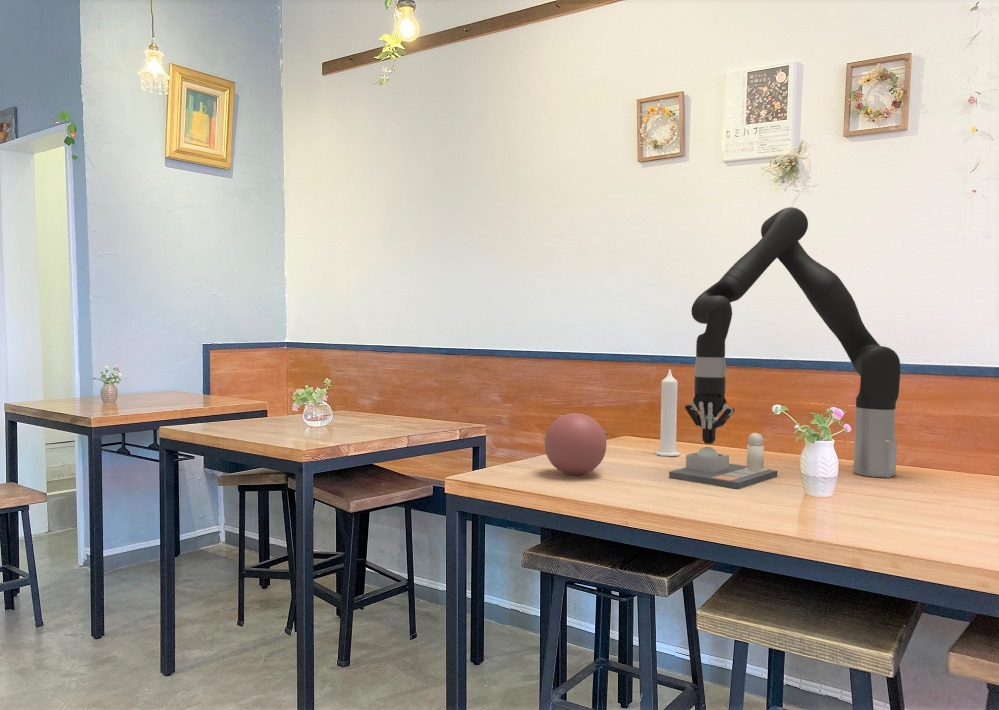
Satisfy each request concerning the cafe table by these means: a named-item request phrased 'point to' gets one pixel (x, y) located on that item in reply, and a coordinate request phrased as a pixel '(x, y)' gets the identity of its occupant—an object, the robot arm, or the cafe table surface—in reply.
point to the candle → (668, 417)
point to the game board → (720, 472)
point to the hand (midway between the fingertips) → (708, 443)
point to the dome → (707, 452)
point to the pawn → (755, 452)
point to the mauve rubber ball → (575, 444)
